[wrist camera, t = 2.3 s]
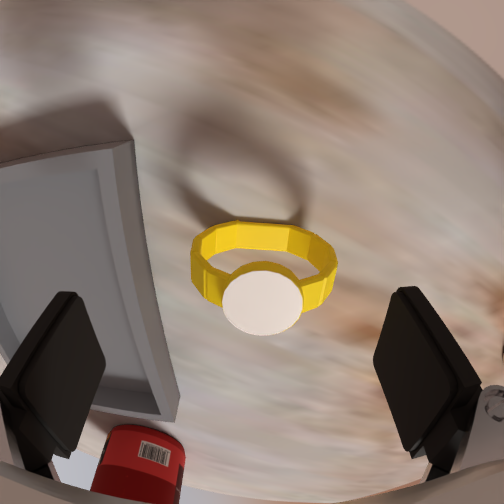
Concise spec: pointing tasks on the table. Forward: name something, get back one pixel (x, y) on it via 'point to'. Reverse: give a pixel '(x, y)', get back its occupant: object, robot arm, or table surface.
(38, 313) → the tray
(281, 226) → the watch
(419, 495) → the robot arm
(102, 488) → the canned food
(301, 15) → the table surface
